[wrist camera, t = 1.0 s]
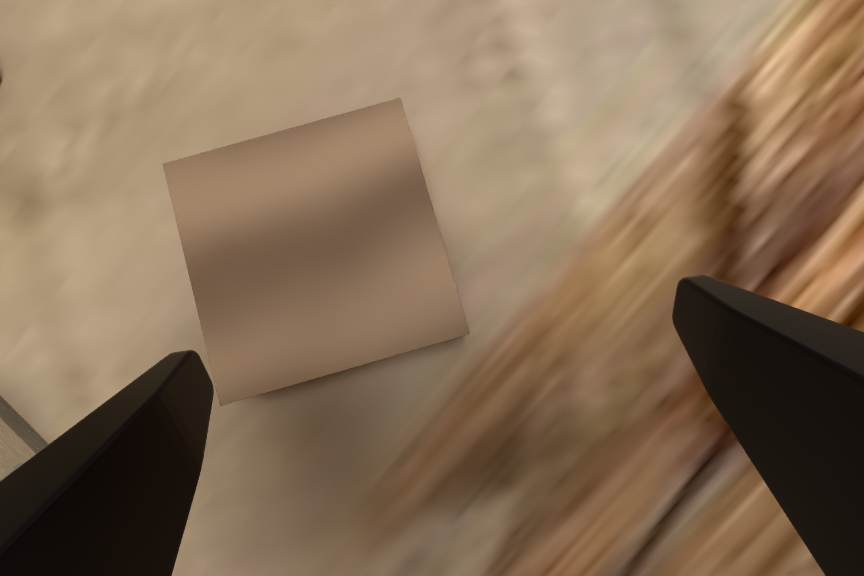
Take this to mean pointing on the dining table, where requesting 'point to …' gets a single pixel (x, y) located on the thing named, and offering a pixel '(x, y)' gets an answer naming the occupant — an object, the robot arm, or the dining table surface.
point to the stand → (313, 251)
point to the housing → (16, 440)
